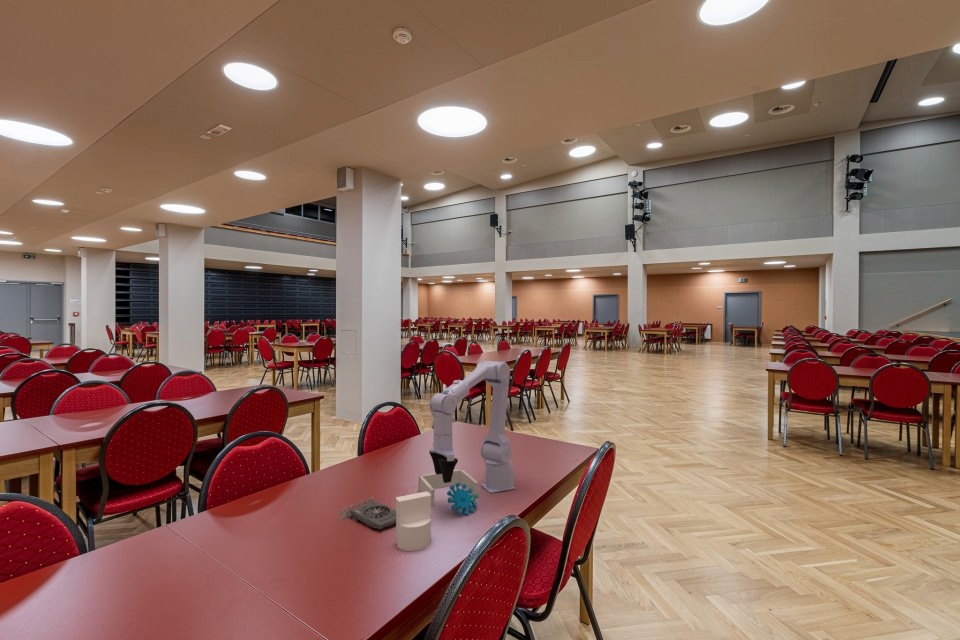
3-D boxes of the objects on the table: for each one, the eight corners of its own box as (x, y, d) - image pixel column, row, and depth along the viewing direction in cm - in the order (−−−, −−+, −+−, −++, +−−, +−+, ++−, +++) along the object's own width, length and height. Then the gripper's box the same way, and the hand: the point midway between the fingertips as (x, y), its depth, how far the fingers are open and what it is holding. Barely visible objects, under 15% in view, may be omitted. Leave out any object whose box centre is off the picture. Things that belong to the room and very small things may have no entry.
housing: (462, 483, 155) (462, 469, 156) (478, 497, 143) (478, 482, 143) (418, 490, 149) (418, 475, 149) (431, 506, 136) (431, 490, 136)
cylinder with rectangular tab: (402, 554, 108) (402, 506, 108) (392, 538, 116) (391, 493, 116) (436, 545, 112) (435, 499, 112) (423, 530, 120) (423, 487, 120)
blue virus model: (454, 515, 126) (444, 482, 133) (445, 524, 129) (436, 492, 136) (485, 511, 132) (475, 480, 139) (476, 520, 136) (466, 489, 142)
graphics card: (337, 508, 128) (371, 495, 137) (337, 521, 128) (372, 507, 137) (371, 527, 117) (406, 511, 126) (372, 541, 117) (406, 524, 126)
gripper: (423, 429, 137) (423, 472, 137) (437, 440, 124) (437, 488, 124) (444, 426, 140) (444, 469, 140) (460, 438, 127) (461, 484, 127)
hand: (443, 478), depth 132 cm, fingers open, 7 cm apart
